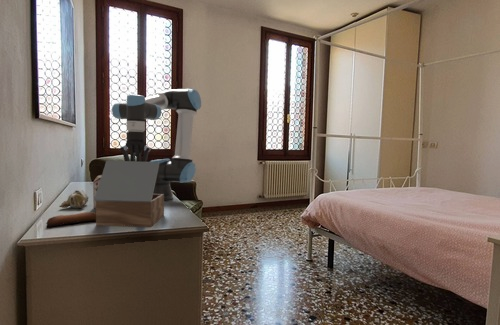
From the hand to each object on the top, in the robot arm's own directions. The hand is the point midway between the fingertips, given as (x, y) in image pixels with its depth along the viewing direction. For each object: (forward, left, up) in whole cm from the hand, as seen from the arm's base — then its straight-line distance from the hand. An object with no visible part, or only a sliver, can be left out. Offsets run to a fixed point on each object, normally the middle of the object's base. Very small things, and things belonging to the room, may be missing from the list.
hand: (135, 185), depth 132 cm
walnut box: (+4, 0, -15) cm, 15 cm away
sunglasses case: (+10, -23, -15) cm, 29 cm away
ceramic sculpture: (-17, -36, -15) cm, 42 cm away
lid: (+8, 0, +3) cm, 8 cm away
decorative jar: (-20, -21, -15) cm, 33 cm away
